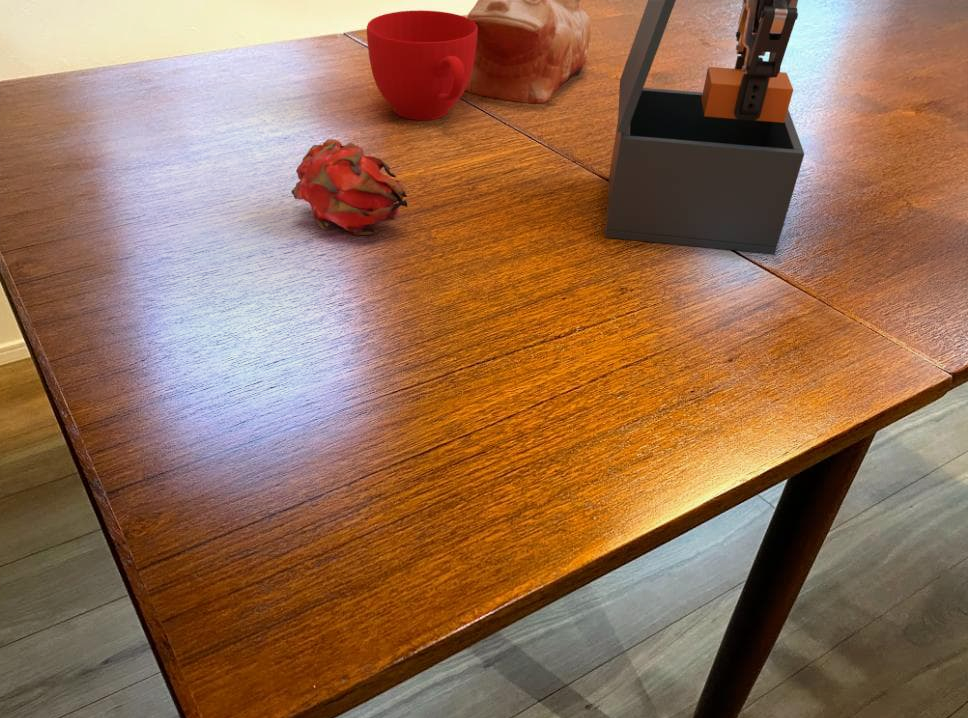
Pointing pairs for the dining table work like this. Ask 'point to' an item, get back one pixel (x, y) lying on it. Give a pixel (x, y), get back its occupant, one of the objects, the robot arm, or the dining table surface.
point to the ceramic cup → (421, 60)
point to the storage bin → (701, 176)
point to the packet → (725, 90)
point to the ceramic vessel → (527, 47)
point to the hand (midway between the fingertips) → (743, 106)
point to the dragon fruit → (347, 187)
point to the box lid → (641, 58)
